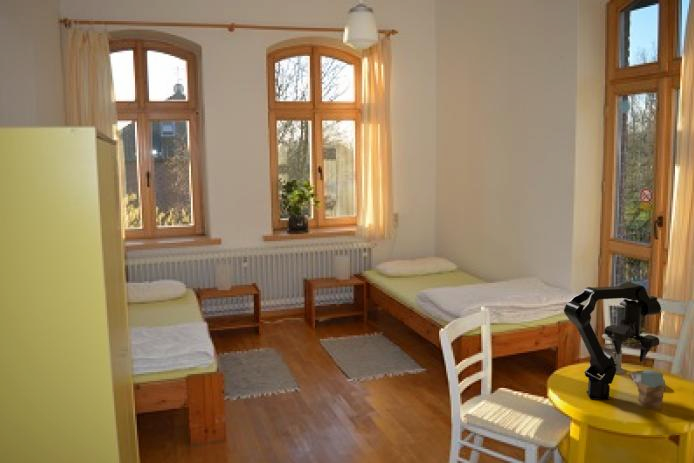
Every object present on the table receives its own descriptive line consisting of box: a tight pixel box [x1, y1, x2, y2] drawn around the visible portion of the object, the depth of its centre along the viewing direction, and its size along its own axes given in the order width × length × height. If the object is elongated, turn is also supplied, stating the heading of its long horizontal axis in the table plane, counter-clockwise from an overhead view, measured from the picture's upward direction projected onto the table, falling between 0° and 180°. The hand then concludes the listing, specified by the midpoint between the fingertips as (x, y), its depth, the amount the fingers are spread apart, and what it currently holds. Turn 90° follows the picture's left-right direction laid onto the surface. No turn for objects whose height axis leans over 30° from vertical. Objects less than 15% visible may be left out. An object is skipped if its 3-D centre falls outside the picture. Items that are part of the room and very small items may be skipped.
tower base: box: [637, 391, 664, 410], centre depth 221 cm, size 6×6×4 cm
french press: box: [601, 309, 625, 375], centre depth 251 cm, size 10×12×25 cm
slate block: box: [641, 369, 664, 388], centre depth 219 cm, size 5×5×4 cm
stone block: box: [630, 370, 666, 390], centre depth 239 cm, size 12×5×10 cm
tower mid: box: [637, 380, 665, 398], centre depth 220 cm, size 6×6×4 cm
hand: (629, 357), depth 230 cm, fingers open, 9 cm apart
